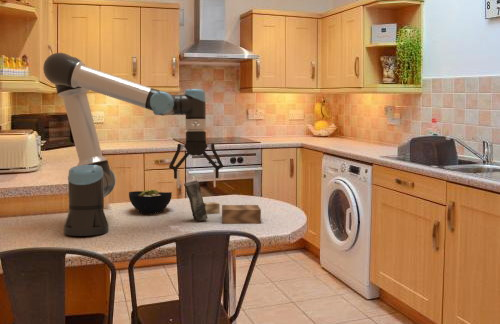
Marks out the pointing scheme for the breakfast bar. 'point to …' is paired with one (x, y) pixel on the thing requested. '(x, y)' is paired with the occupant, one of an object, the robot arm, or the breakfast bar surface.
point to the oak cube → (212, 208)
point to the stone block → (196, 200)
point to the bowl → (150, 201)
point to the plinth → (241, 214)
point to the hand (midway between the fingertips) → (196, 187)
